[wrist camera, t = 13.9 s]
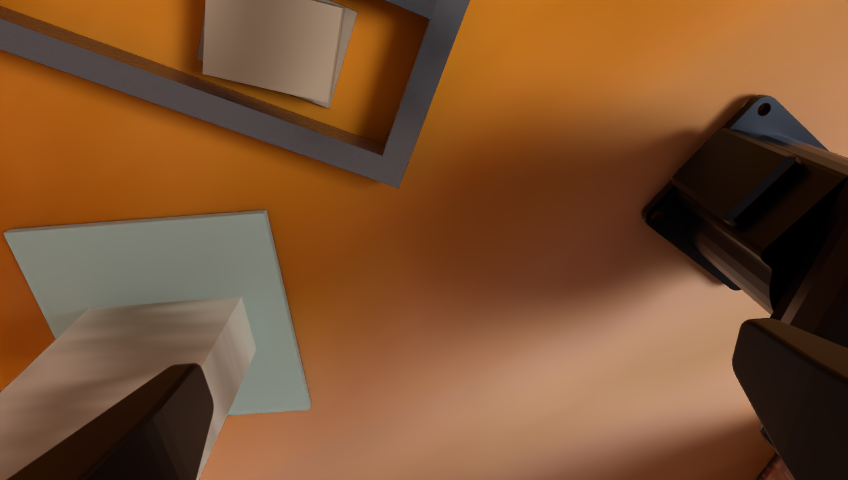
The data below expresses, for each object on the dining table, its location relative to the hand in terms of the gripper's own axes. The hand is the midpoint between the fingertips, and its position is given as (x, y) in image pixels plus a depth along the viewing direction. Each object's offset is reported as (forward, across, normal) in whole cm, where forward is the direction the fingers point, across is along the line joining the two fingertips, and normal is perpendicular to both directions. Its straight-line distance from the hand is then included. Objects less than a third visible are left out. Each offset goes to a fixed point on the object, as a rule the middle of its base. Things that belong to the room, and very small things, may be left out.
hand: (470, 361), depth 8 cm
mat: (+13, +13, +8) cm, 20 cm away
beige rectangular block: (+13, +13, +7) cm, 19 cm away
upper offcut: (+13, +5, -5) cm, 15 cm away
